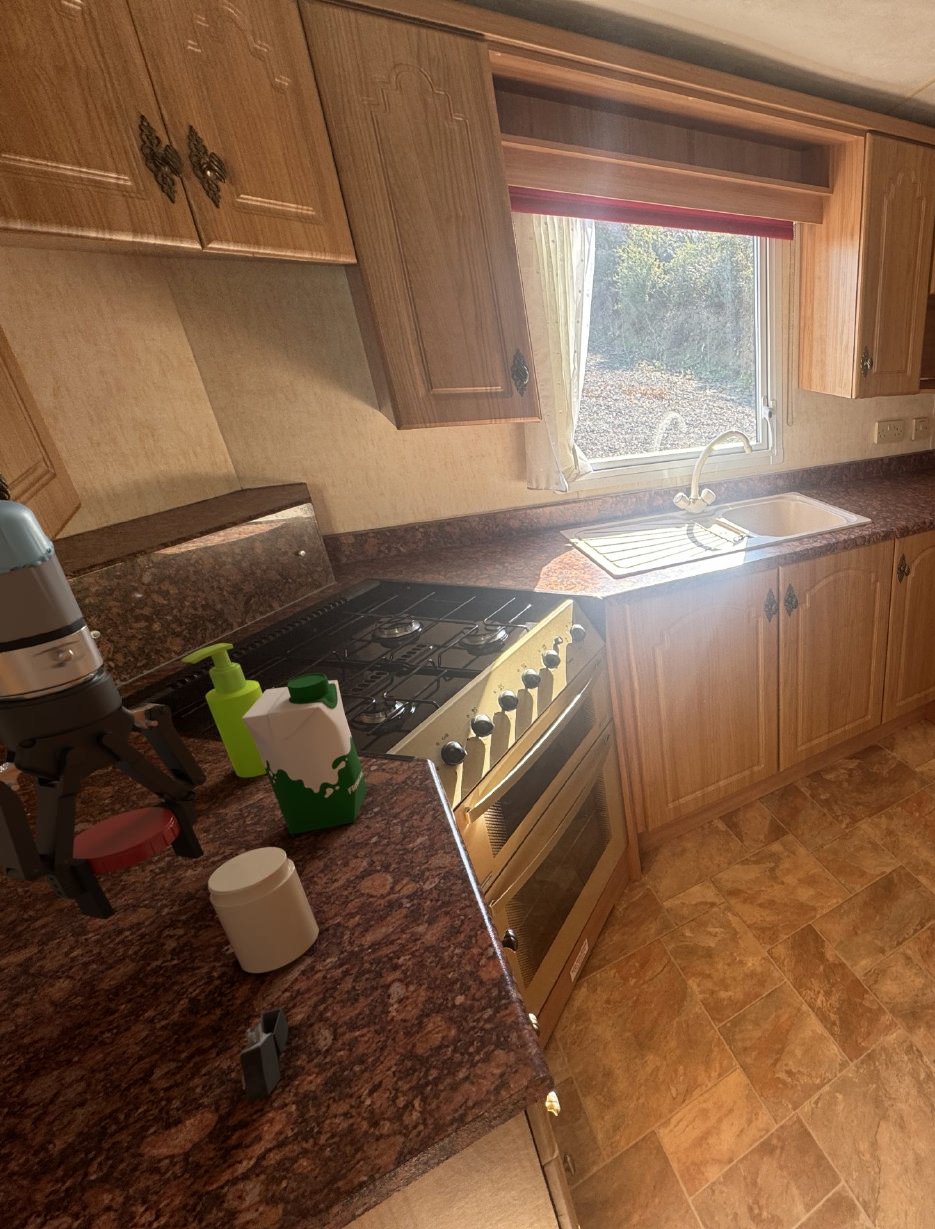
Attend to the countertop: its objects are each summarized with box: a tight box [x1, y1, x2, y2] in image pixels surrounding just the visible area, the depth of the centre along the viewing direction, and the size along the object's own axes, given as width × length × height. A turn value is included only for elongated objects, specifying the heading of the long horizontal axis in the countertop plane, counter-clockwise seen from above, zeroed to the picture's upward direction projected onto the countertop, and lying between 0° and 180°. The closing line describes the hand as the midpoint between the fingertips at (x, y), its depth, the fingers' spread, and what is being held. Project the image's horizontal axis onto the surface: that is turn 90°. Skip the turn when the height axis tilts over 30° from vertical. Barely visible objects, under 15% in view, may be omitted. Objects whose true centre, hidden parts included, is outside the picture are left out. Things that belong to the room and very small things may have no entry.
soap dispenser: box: [180, 642, 267, 778], centre depth 93 cm, size 6×7×20 cm
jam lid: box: [73, 806, 180, 876], centre depth 62 cm, size 7×7×2 cm
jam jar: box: [207, 846, 320, 974], centre depth 66 cm, size 7×7×11 cm
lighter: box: [239, 1007, 289, 1105], centre depth 56 cm, size 8×2×5 cm
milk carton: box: [242, 672, 369, 835], centre depth 84 cm, size 9×9×20 cm
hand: (147, 882), depth 65 cm, fingers closed on jam lid, 7 cm apart
